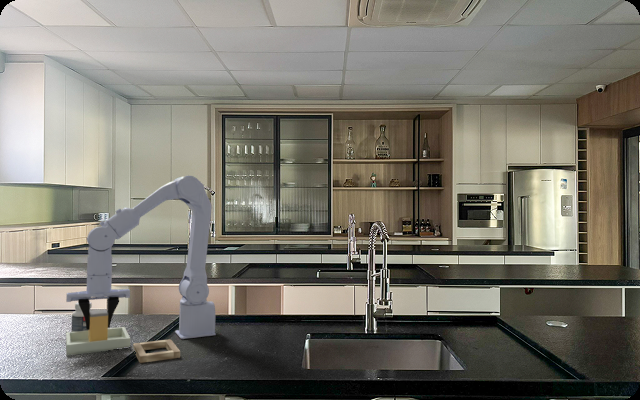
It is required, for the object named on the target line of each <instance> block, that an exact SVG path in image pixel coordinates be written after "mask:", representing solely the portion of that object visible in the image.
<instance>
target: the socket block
mask: <svg viewBox="0 0 640 400" xmlns="http://www.w3.org/2000/svg"><path fill="white" fill-rule="evenodd" d="M133 348H134V350H135V352H136V354H135V356H136V359H137V361H138V363H139V364H143V363H149V362H150V363H151V362H158V361H164V360H173V359H180V358H181V350H180V349H179V348H178V346H177V345H176V344H175V342H174V341H173V340H172V339H171V338H170V339H161V340H160V339H159V340H154V341H145V342H144V341H143V342H136V343H133V345H132V349H133ZM164 348H165V349H166V350H163V351H156V352H155V351H154V352H150V353H149V352H148V353H146V351H147V350H157V349H164ZM134 350H133V351H134ZM135 352H134V353H135Z"/></svg>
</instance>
